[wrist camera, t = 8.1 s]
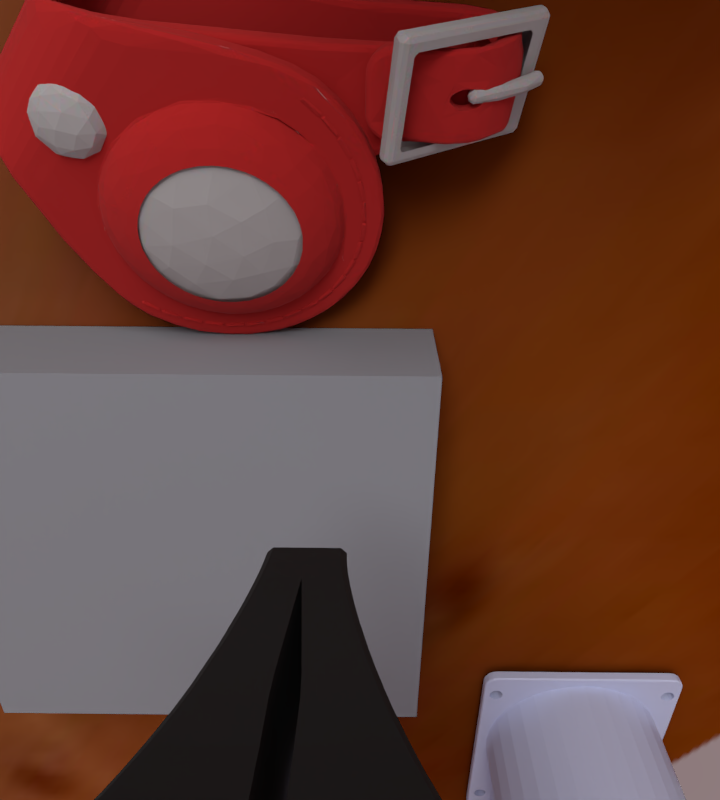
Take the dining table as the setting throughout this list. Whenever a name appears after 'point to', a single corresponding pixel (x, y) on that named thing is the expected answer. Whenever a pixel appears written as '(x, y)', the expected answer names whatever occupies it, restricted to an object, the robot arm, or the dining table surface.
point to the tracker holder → (245, 136)
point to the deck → (202, 498)
